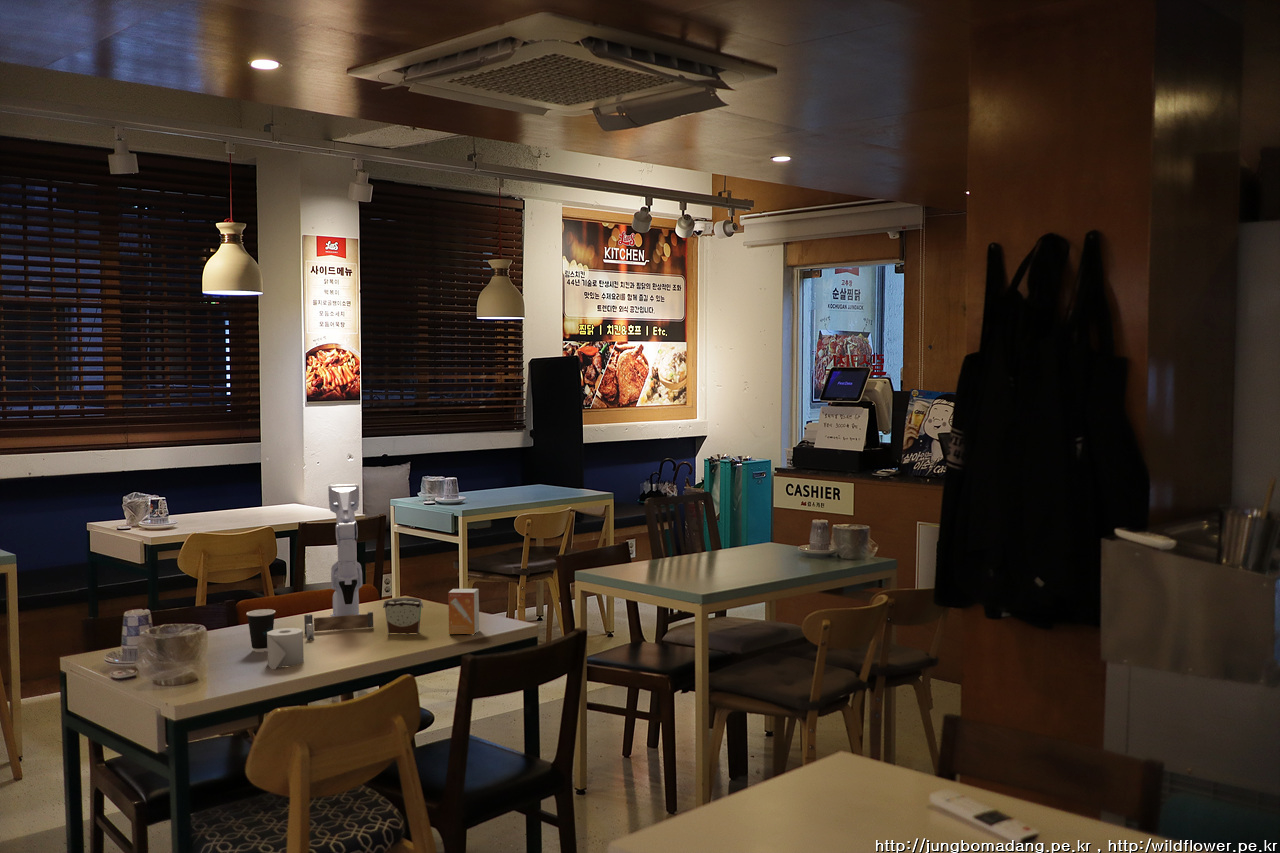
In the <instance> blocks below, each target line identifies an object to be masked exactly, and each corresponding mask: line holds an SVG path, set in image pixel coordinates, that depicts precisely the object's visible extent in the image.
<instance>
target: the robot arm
mask: <svg viewBox="0 0 1280 853" xmlns="http://www.w3.org/2000/svg"><path fill="white" fill-rule="evenodd" d="M328 505H329V506H328V507H329V511H330V512H331V513H334V514H335V517H336V518H335V519H336V524H335V539H336V546H337V561H336V562H335V563H333V565H331V568H330V570H331V572H330V574H331V575H330V581H331V582H330V584H331V590H333V591H334V590H335V591H334V592H333V594H332V613H330V615H329V617H331V616H345V615H359V614H360V598H359V590H360V589H361V588H362V587H363V571H362V570H363V569H362V565H361V563H360V562H358V560H357V557H358V554H357V553H358V552H357V540H358V531H359V530H358V524H357V521H356V513H355V512H356V511H358V509H359V506H360V485H359V483H356V482H355V483H345V484H329V485H328Z"/></svg>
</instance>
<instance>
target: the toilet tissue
mask: <svg viewBox="0 0 1280 853" xmlns="http://www.w3.org/2000/svg"><path fill="white" fill-rule="evenodd" d="M267 650H268V651H267V664H269V665H268V668H269V667H270V668H272V669H271V670H273V669H275V670H276V669H277V668H283V667H282V666H290V667H293V666H292V665H295V666H298V665H297V664H299V665H300V663H301V664H303V663H304V662H305V659H304V658H305V657H304V631H303V629H302V628H297V627H283V628H276V629H273V630H272V631H269V632H267ZM302 662H303V663H302ZM270 668H269V669H270Z"/></svg>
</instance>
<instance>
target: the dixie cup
mask: <svg viewBox="0 0 1280 853" xmlns="http://www.w3.org/2000/svg"><path fill="white" fill-rule="evenodd" d="M275 613H277V612H276V610H274V609H271V608H270V609H269V608H267V609H254V610H251V611H247V612H246V616H247V622H248V629H249V636H250V642H251V644H250V645H251V648H252V650H253V652H254V651H255V652H254V653H265V652H264V651H266V652H268V650H267V632H269V631H272V630H274V624H275Z"/></svg>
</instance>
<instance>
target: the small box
mask: <svg viewBox="0 0 1280 853" xmlns="http://www.w3.org/2000/svg"><path fill="white" fill-rule="evenodd" d="M479 590H480V589H479V588H452V589H451V590H449V591H448V592H447V594H448V595H447V596H448V599H447V600H448V635H449V634H475V633H476V632H477V631H478V630H479V631H480V603H479V602H480V601H479V600H480V599H479V592H480V591H479ZM479 631H478V632H479ZM478 632H477V633H478ZM477 633H476V634H477ZM476 634H475V635H476Z"/></svg>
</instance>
